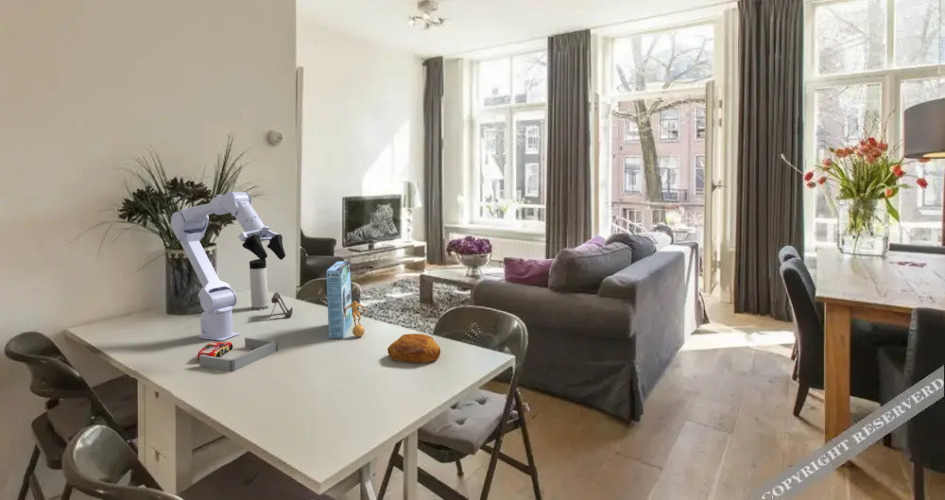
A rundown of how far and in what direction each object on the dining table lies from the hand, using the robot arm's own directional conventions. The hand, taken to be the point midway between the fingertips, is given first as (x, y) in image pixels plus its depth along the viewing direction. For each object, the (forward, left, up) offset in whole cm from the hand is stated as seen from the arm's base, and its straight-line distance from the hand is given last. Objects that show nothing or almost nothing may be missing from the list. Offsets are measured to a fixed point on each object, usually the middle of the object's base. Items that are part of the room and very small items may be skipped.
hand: (274, 258), depth 151 cm
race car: (-15, -10, -29) cm, 34 cm away
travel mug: (-42, +39, -29) cm, 64 cm away
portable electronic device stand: (-26, +32, -29) cm, 50 cm away
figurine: (+15, +20, -29) cm, 38 cm away
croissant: (+42, +9, -29) cm, 52 cm away
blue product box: (+6, +24, -29) cm, 38 cm away
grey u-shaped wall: (-6, -10, -29) cm, 31 cm away
